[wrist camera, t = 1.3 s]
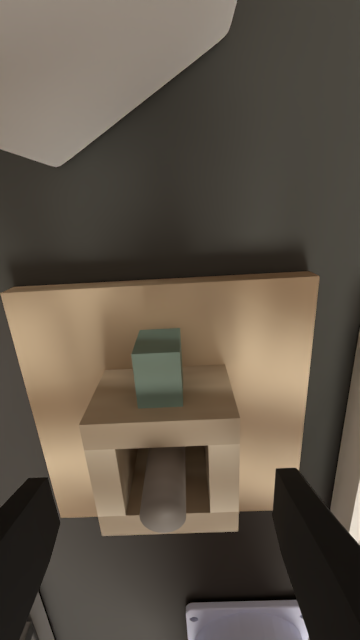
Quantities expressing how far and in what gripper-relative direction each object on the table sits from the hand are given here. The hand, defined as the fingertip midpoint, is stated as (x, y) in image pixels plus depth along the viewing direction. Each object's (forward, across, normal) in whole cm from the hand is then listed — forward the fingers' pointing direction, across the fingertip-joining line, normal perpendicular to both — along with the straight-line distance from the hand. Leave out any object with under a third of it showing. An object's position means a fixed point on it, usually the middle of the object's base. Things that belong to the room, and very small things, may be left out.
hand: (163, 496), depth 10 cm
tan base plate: (+5, 0, 0) cm, 5 cm away
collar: (+4, 0, 0) cm, 4 cm away
